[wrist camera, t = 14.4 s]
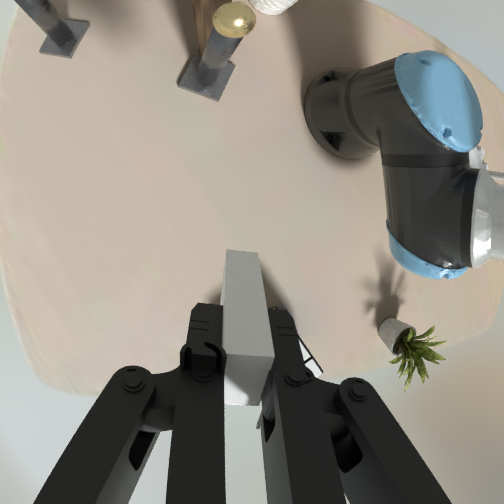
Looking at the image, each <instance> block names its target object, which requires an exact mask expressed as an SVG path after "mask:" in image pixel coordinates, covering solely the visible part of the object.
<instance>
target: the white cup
mask: <svg viewBox="0 0 504 504" xmlns="http://www.w3.org/2000/svg"><path fill="white" fill-rule="evenodd" d="M297 1H298V0H249V2H250V3H251V4H252V6H253V7H254V8H255V9H257V10H258V11H260V12H261V13H265V14H269V15H277V14H281V13H283V12H284V11H286V10H287V9H288V8H289V7H291V6H292V5H293V4H295V3H296V2H297Z"/></svg>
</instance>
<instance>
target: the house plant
mask: <svg viewBox="0 0 504 504" xmlns="http://www.w3.org/2000/svg"><path fill="white" fill-rule="evenodd" d="M434 327H435V326H433V327H432V328H430V329H429V330H428V331H427V332H425V333H424V334H423V335H420V336H416V329H415V328H414V327H413V326H410V325H408V324H406V323H403V322H401V321H399V320H396V319H394V318H388V319H386V320H385V321H384V322H383V323H382V324H381V325H380V327H379V330H378V335H379V336H380V338H381V339H382V340H383V342H384V343H385V344H386V346H387V347H388V348H389V350H390V351H391V352H392V353H393V355H395V356H397V357H396V358H395V359H393V360H392V361H390V363H392V364H395V363H398V362H399V361H400V360H401V359H402V363H401V365H400V368H399V371H398V372H401V371H402V373H401V375H400V377H401V376H402V374H403V372H405V373H404V374H407V373H408V378H407V381H406V382H405V383H407V382H408V385H407V386H406V388H405V390H406V389H407V387H408V386H409V384H410V381H411V379H412V374H413V372H414V370H415V367H416V366H417V370H418V373H419V375H420V376H421V378H422V382H423V383H424V379H425V376H426V377H427V378H428V374H427V371H426V368H425V364H424V362H423V360H422V358H421V357H423V358H424V359H426V360H428V361H431V362H434V363H436V364H439V363H438V362H437V361H435V360H446V359H445V358H444V357H442V356H441V355H439V354H437V353H436V352H434V351H433V350H434V349H435V348H434V349H433V350H431V349H430V348H428V346H437V345H441V344H443V343H444V342H446V341H442V342H430V343H429V342H428V341H429V340H430V339H433V338H435V337H436V336H435V337H433V338H430V339H429V337H428V338H427V342H422V341H426V340H415V339H421V338H425V337H427V336H429V335H430V334H432V332H433V330H434ZM401 354H402V355H401ZM399 355H401V356H400V357H399V358H398V356H399ZM406 356H407V360H406ZM412 358H413V360H414V367H413V360H412ZM406 361H408V366H407V368H406V370H405V371H404V368H405V365H406ZM406 371H407V372H406ZM400 377H399V378H400Z"/></svg>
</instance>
